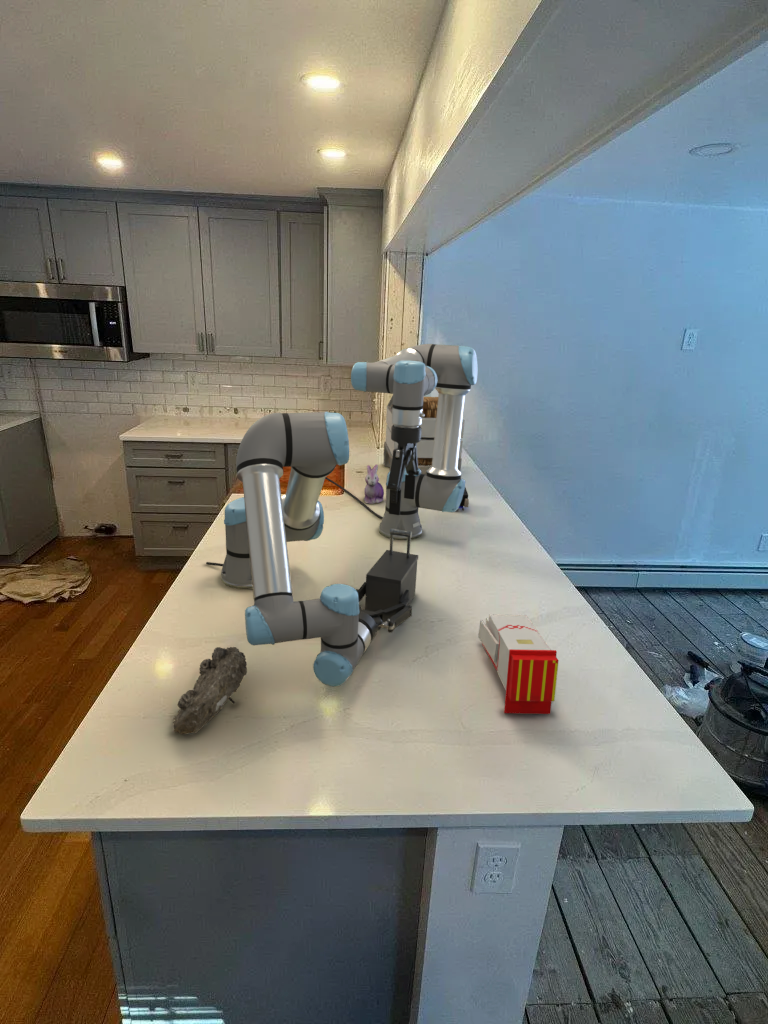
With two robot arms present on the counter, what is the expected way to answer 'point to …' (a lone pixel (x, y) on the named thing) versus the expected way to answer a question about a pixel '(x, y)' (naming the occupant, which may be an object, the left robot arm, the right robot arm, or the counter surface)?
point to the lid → (393, 562)
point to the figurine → (373, 486)
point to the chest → (389, 592)
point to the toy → (521, 662)
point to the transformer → (427, 434)
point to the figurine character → (464, 500)
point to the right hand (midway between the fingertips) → (402, 506)
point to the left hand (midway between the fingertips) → (386, 590)
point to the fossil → (211, 689)
